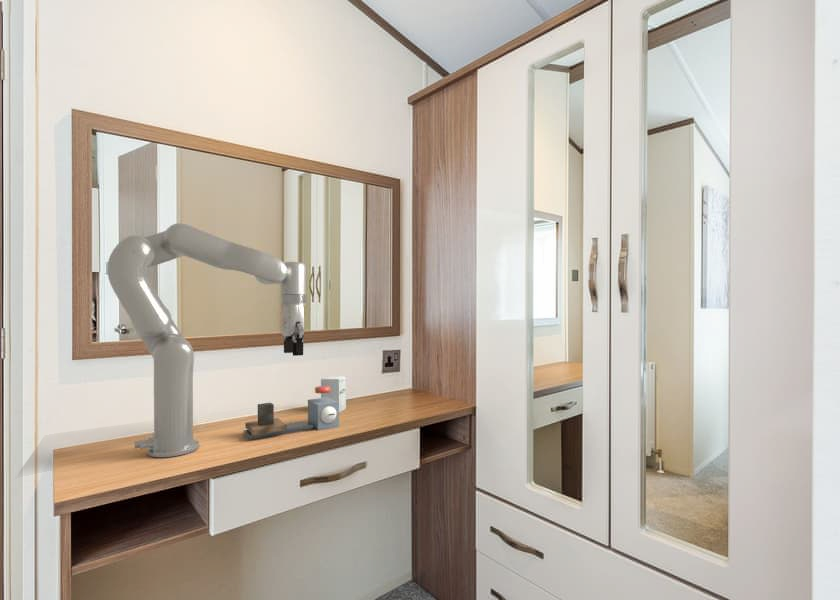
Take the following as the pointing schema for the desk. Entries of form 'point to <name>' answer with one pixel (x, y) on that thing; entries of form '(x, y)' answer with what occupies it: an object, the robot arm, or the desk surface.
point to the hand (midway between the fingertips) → (293, 354)
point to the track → (290, 429)
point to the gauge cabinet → (323, 413)
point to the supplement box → (336, 390)
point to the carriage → (265, 421)
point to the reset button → (322, 389)
